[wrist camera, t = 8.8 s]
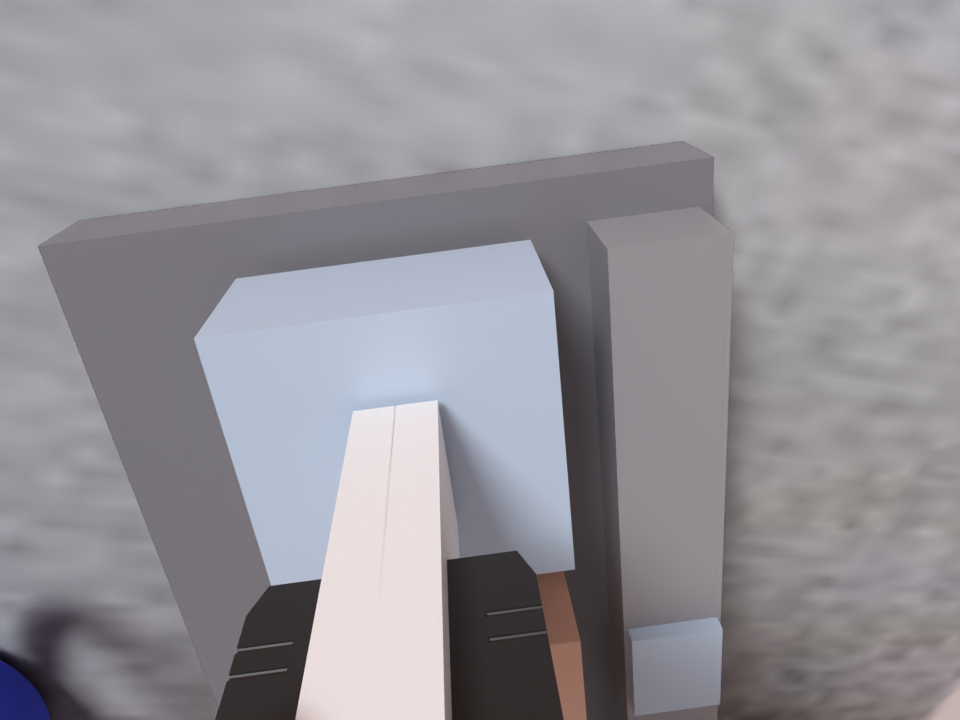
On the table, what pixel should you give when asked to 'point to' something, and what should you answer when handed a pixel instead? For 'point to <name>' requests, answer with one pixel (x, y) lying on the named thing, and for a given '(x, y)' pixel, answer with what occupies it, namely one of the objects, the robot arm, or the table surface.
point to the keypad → (583, 375)
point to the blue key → (395, 394)
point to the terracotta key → (563, 643)
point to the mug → (19, 697)
